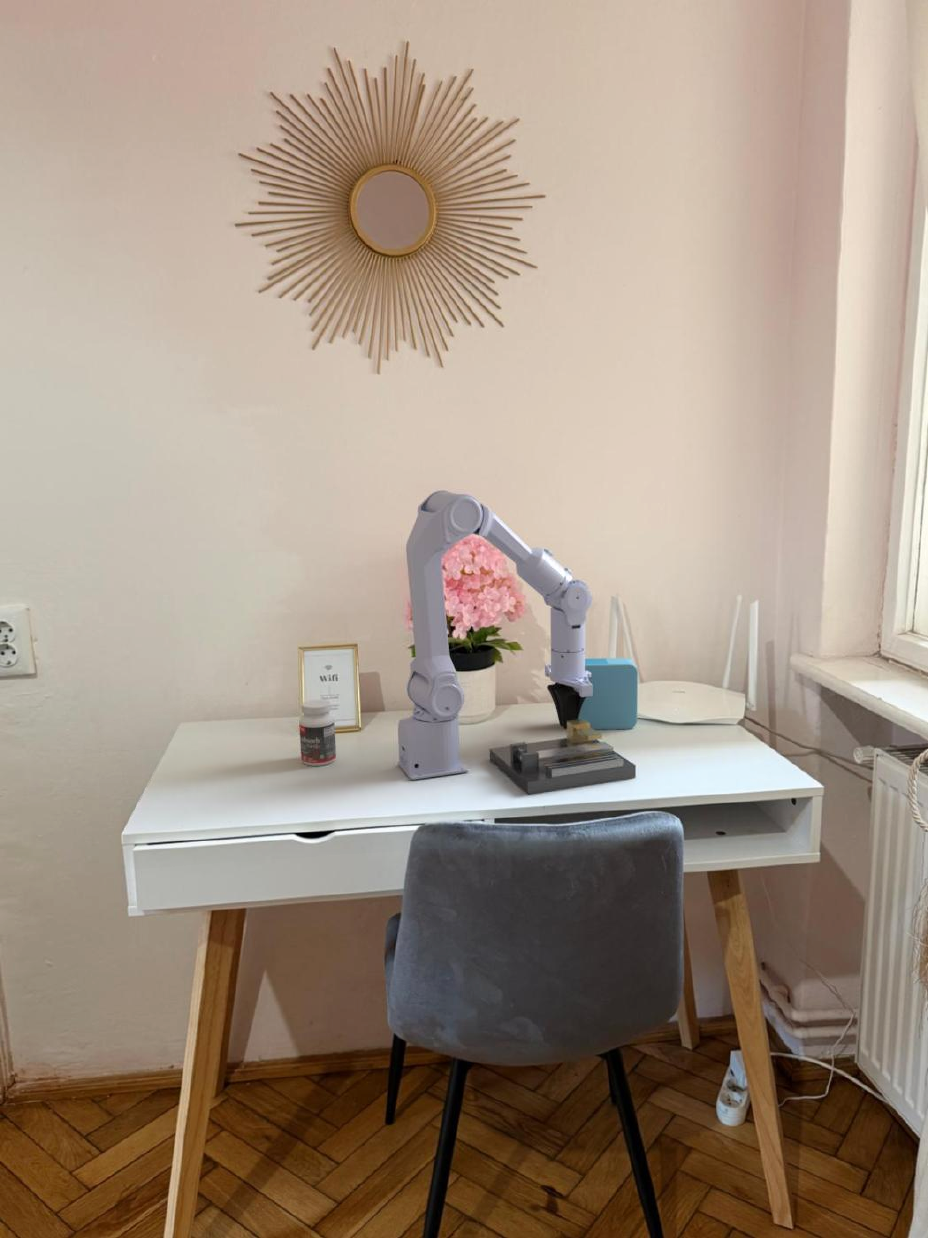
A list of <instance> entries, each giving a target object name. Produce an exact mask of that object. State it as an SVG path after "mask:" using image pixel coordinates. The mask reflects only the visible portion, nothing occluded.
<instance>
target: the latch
mask: <svg viewBox="0 0 928 1238" xmlns="http://www.w3.org/2000/svg"><path fill="white" fill-rule="evenodd" d="M566 738H567V740H569V741H570V742H572V743H573V744H575V743H582V742H588V741H590V740H603V734H602V733H600V732H599V731H598V730H594V729H593V728H591V727H590V723H589V722H588V721H586V720H585V719H578V720H570V721H567V729H566Z"/></svg>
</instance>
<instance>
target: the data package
mask: <svg viewBox="0 0 928 1238" xmlns="http://www.w3.org/2000/svg"><path fill="white" fill-rule="evenodd" d="M585 671H589V672H591V677H588V680H589V682H590V683H591V684H593V696H587V697H586V699H585V700H584V702H583V705H582V707H581V710H580V714H579V717H578V719H585V720H586V721H588V722H589V723H590V727H591V728H593V729H594V730H596V731H598V730H603V731H604V730H630V729H633V728H634V727H635V726H636V725H637V723H638V706H639V705H638V703H639V702H638V701H639V700H638V699H639V697H638V695H639V694H638V693H639V690H638V689H639V670H638V668H637V666H636V665H635V663H634V662H633V660H631V659H630V658H628V657H608V658H605V657H604V658H602V657H601V658H585Z"/></svg>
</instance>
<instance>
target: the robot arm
mask: <svg viewBox="0 0 928 1238" xmlns="http://www.w3.org/2000/svg"><path fill="white" fill-rule="evenodd" d="M471 535H477V536H481V537H482V538H483V539H485V540H486V541H487V542H489V543H490V544H491V545H492V546H493V547H495V548H496V549H497V550H498V551H500V552H501V553H502V554H503V555H505V556H506V557H507V558H509V559H510V560H511V561H512V562H513V563H514V564H515V565H516V571H515V572H516V574H517V575H518V577H519V578H521V579H522V580H523V582H524V581H525V583H527V585H529V586H530V588H532V589H534V591H536V592H537V593H538V595H540V596H541V597H542V598H543V601H544V604H545V605H546V606H548V607H549V606H550V664H545V665H544V676H545V677H547V678H549V679H550V681H551V682H553V683H552V684H548V685H547V686H546V688H547V690H548V692H549V694H550V696H551V698H552V701H553V702H554V703H553V704H554V706H555V710H556V714H557V718H558V719H557V720H558V722H559V726H560V727H561V728H563V729H564V730H567V721H570V720H578V717H579V714H580V710H581V707H582V705H583V702H584V700H585V699H586V697H587V696H593V684H591V683H590V682H589V680H588V677H591V672H589V671H585V659H586V620H587V612H588V610H589V608H590V607H591V605H592V603H593V597H594V596H593V595H591V593H590V591H589V586H588V585H587V583H585V582H584V581H583V580H580V579H576V578H573V576H572V570H571V569H570V568H567V567H563V566H562V565H561V564H560V563H559V562H557V561H556V560H555V559H554V557H553V556H554V553H553V552H552V551H551V550H550V549H547V548H544V549H543V548H542V547H533V548H530V547H529V546H528V545H527V544H526V543H525V542H524V541H523V540H522V539H521V538H520V537H519V536H518V535H517V534H516V533H515V532H514V531H513V530H512V529H511V528H509V527H508V525H506V524H505V522H503V521H502V520H501V518H499V517H498V515H496V514H495V513H494V512H493V511H492V510H491V509H490V508H489V506H487V505H485V504H483V503H480V502H479V500H478V499H477V498H476V497H475V496H473V495H471V494H467V493H455V492H451V491H449V490H444V489H443V490H442V489H441V490H439V489H438V490H436V491H433V492H431V494H429V495H428V496H427V497H426V498H425V499H424V500H423V501H422V502H421V503H420V504H419V506H418V507H417V517H416V519H415V522H414V524H413V526H412V529H411V531H410V534H409V536H408V539H407V542H406V544H405V545H406V546H405V553H406V563H407V572H408V573H407V575H408V585H409V586H408V587H409V597H410V598H409V599H410V606H411V608H410V609H411V618H412V628H413V629H412V631H413V639H414V640H413V641H414V650H415V651H414V653H415V655H414V656H415V657H414V658H413V659H412V661H411V662H410V665H409V668H410V673H409V678H408V680H407V682H406V693H407V696H408V698H409V700H410V701H411V702H412V703H413V709H412V715H411V716H408V717H405V718H401V719H399V721H398V726H397V740H398V741H397V742H398V743H397V745H398V761H397V764H398V766H399V767H400V768H401V770H402V771H403V772H404V773H405V775H407V776H408V778H409V779H410V780H411V781H412V780H413V781H414V780H423V779H428V778H434V777H442V776H448V775H456V774H462V773H467V772H468V771H469V768H468V767H467V766H466V765H465V764H464V763H463V762H462V761H461V760H460V734H459V733H460V729H459V726H460V725H459V713H460V712H461V710H462V708H463V706H464V704H465V703H464V702H465V693H464V690H463V688H462V687H461V685H460V683H459V681H458V676H457V675H458V672H457V670H456V668H455V665H454V663H453V661H452V658H451V656H450V649H449V647H450V645H449V637H448V636H449V635H448V625H447V622H448V620H447V612H446V611H447V610H446V600H445V588H444V587H445V586H444V576H443V563H442V561H443V560H442V558H443V557H444V555H446V553H447V552H448V551H449V550H450V549H451V548H452V547H453V546H454V544H457V543H459V542H460V541H462V540H464V539H465V538H467V537H469V536H471Z"/></svg>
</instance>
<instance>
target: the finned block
mask: <svg viewBox="0 0 928 1238" xmlns="http://www.w3.org/2000/svg"><path fill="white" fill-rule="evenodd" d="M599 742H601V741H600V740H599V739H597V740H590V741H588V742H582V743H575V744H573V743H572V742H570V741H569V740H567V737H564V738H558V739H556V738H555V739H551V740H544V741H543V740H542V741H537V742H536V741H534V742H529V743H528V742H527V743H526V742H525V741H524V742H523V741H522V742H515V743H510V744H509V746H508V745H507V746H501V747H500V746H499V747H495V748H489V761H490V762H491V763H492V764H493V765H494V766H495V765H496V766H497V767H498V770H499V771H500V772H502V773H503V772H504V773H505V774H506V775H507V776H506V775H505V774H504V773H503V774H504V775H505V776H506V777H508V778H509V779H510V780H511V781H512V782H513V781H514V782H513V783H514V784H515V785H516V786H517V787H519V788H520V789H521V790H522V791H523V792H524V793H525V794H526V795H528V796H530V795H535V794H541V793H547V792H549V793H550V792H555V791H561V790H567V789H573V788H578V787H579V788H580V787H585V786H592V785H597V784H604V783H610V782H611V783H612V782H617V781H624V780H629V779H635V778H636V772H637V771H636V770H637V768H636V767H637V766H636V764H634V763H633V762H631V761H630V760H628V759H627V758H625V757H624V756H622V755H621V754H620V753H618V752H616V751H614V750H613V751H610V752H603V753H597V754H590V755H583V756H576V757H569V758H562V759H556V760H549V761H542V762H539V753H538V752H537V751H543V750H550V749H557V748H564V747H571V746H578V745H585V744H592V743H599ZM520 751H523V752H524V753H522V762H521V761H520V760H519V759H517V753H518V752H520ZM496 766H495V767H496ZM497 767H496V768H497Z"/></svg>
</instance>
